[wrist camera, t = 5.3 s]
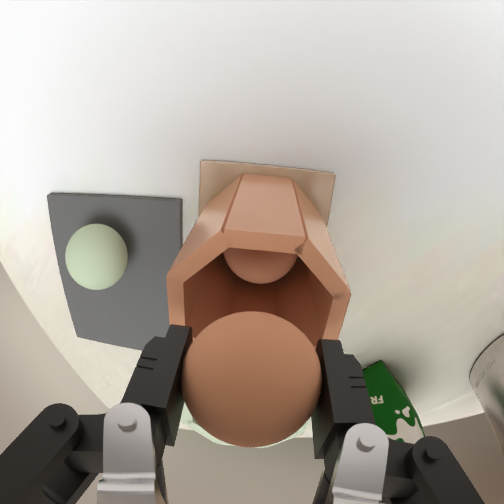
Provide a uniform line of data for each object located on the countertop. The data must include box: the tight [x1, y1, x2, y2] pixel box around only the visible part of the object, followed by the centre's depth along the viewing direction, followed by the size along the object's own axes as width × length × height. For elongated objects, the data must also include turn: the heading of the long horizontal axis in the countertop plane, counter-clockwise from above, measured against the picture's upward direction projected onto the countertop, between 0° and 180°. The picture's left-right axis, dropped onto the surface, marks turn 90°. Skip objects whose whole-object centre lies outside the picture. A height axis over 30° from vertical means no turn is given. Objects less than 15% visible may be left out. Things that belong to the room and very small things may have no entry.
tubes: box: [166, 160, 351, 448], centre depth 19 cm, size 8×16×10 cm, turn 175°
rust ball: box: [223, 247, 298, 284], centre depth 19 cm, size 4×4×4 cm
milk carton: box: [362, 360, 425, 444], centre depth 20 cm, size 9×9×20 cm
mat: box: [47, 193, 182, 351], centre depth 24 cm, size 11×14×1 cm
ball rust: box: [181, 311, 322, 447], centre depth 10 cm, size 4×4×4 cm
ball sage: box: [65, 224, 128, 290], centre depth 20 cm, size 4×4×4 cm
